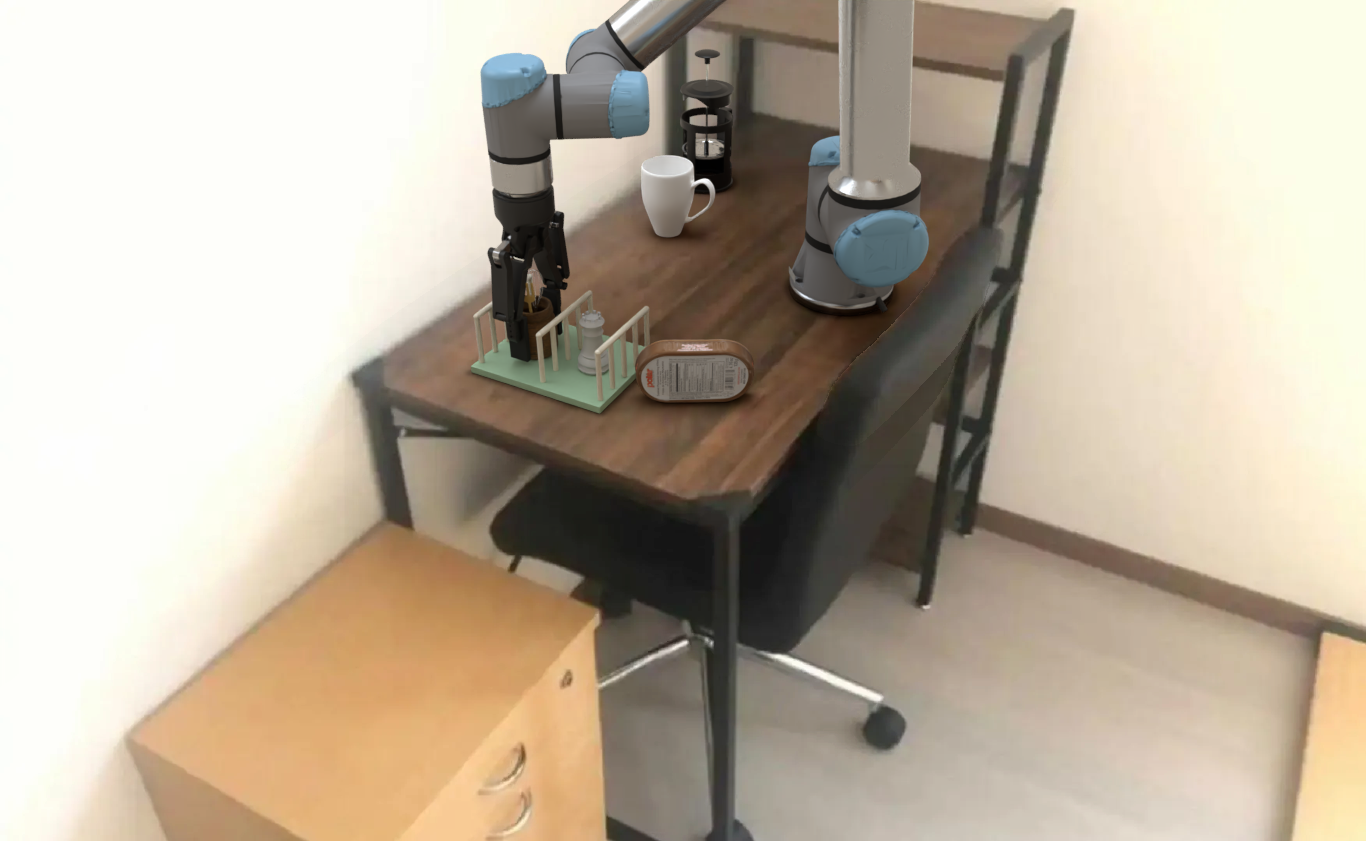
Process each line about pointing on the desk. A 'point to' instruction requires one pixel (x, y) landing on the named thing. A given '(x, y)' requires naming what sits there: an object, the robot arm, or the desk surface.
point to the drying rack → (565, 360)
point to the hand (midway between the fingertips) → (537, 344)
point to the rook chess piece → (592, 343)
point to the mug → (670, 193)
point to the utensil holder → (538, 319)
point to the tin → (694, 370)
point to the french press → (709, 129)
